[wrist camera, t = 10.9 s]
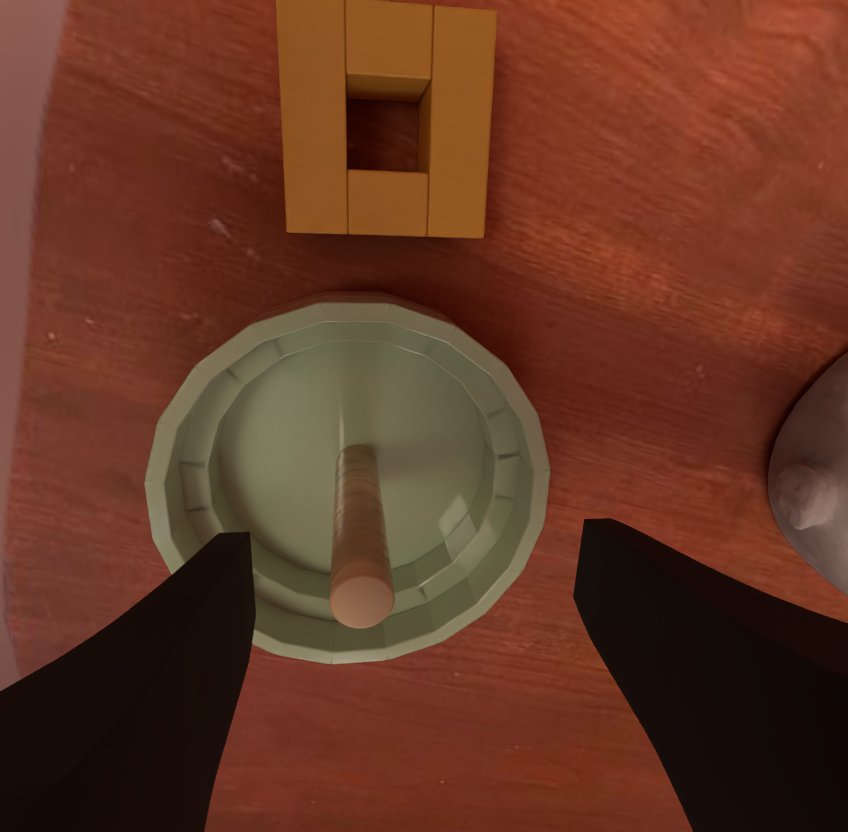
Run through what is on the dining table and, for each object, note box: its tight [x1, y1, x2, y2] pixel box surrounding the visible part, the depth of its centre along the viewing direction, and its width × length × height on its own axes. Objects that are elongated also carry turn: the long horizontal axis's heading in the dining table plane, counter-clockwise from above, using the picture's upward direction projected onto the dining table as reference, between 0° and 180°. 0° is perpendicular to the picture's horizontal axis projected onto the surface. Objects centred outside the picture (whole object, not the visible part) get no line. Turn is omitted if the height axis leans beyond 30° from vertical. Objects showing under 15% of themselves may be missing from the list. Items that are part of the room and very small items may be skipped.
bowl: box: [144, 291, 550, 664], centre depth 20 cm, size 13×13×4 cm
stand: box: [275, 0, 498, 238], centre depth 17 cm, size 6×6×3 cm
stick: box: [329, 445, 395, 628], centre depth 17 cm, size 2×2×8 cm
